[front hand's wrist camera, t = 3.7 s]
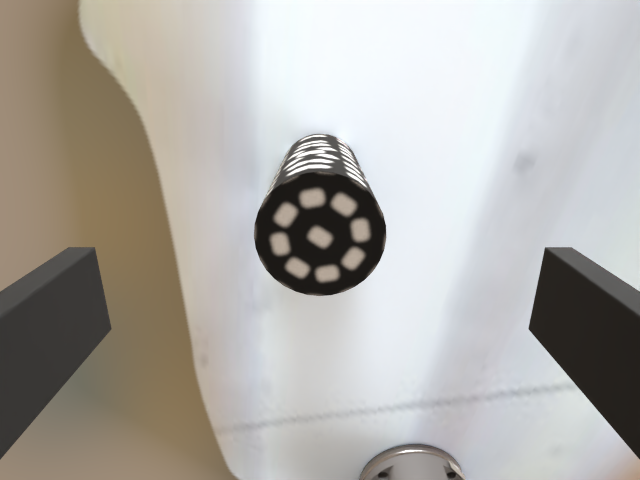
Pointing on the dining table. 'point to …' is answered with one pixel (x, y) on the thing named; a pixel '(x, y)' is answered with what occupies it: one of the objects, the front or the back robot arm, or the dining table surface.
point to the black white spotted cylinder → (320, 220)
